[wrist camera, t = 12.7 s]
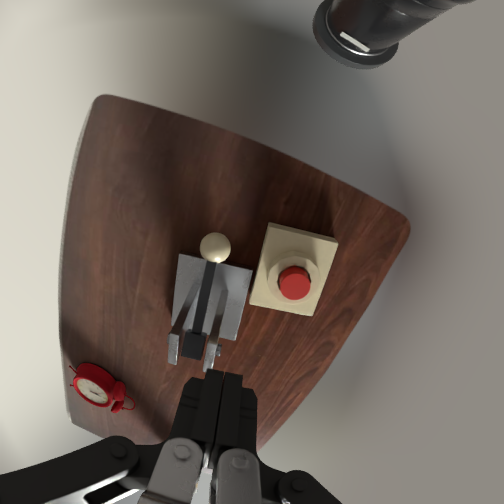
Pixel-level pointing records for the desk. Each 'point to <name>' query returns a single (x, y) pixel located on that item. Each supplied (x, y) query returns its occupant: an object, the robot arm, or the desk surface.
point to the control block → (291, 255)
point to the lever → (205, 293)
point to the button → (294, 283)
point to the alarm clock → (99, 387)
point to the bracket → (219, 306)
